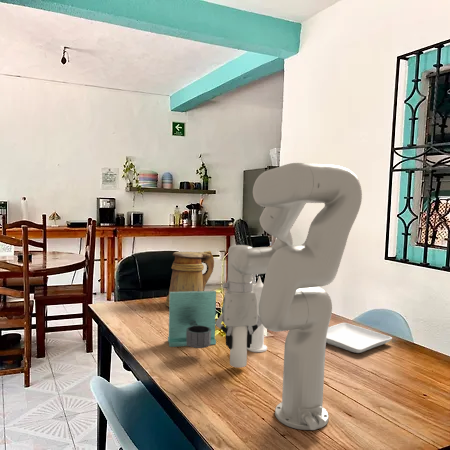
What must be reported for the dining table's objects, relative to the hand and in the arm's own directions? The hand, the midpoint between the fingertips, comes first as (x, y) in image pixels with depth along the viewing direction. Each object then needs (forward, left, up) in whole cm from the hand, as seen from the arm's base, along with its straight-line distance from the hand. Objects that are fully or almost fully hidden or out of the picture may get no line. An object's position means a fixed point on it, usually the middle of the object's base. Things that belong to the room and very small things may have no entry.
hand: (238, 346), depth 131 cm
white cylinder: (0, 0, -6) cm, 6 cm away
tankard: (+74, +3, -7) cm, 74 cm away
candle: (+16, -11, -7) cm, 20 cm away
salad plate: (+16, -47, -8) cm, 50 cm away
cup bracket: (+18, +10, -7) cm, 21 cm away
